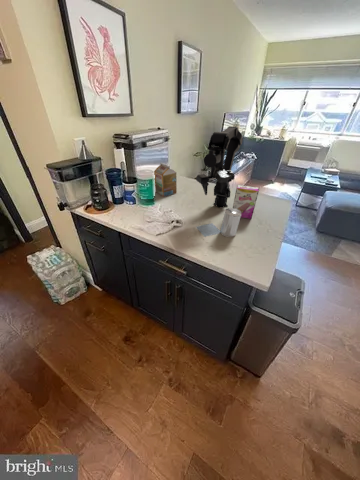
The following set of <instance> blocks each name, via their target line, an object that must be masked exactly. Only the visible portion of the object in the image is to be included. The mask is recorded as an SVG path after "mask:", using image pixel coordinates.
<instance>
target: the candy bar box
mask: <svg viewBox="0 0 360 480" xmlns="http://www.w3.org/2000/svg"><path fill="white" fill-rule="evenodd" d="M259 191H260V188H259V187H257V186H247V185H241V184H237V185H236V189H235V194H234V195H235V196H234V199H233V206H232V208H234V209H237V210H239V211H241V217H240V218H241V219H247V220H252V218H253V215H254V211H255V207H256V203H257V199H258V196H259Z"/></svg>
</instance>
